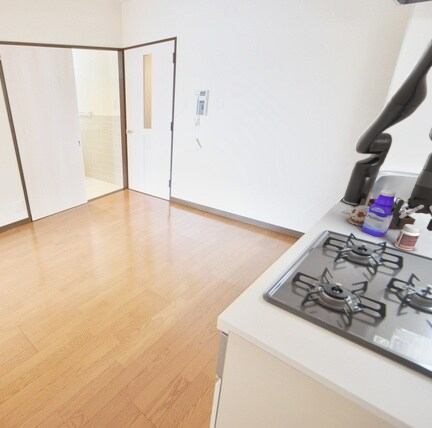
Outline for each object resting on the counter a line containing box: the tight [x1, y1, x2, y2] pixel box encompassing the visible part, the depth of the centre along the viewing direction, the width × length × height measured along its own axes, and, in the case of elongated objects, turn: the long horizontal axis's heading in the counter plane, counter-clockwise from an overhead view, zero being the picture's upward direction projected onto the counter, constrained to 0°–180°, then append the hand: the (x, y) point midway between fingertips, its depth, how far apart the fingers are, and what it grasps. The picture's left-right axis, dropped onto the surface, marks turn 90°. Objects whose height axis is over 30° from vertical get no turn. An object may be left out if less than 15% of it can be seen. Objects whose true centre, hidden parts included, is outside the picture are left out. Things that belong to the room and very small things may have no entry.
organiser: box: [359, 198, 416, 231], centre depth 120 cm, size 21×8×5 cm, turn 167°
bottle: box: [362, 189, 397, 237], centre depth 106 cm, size 7×6×17 cm
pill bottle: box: [394, 224, 422, 251], centre depth 98 cm, size 5×5×8 cm
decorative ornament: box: [347, 189, 374, 227], centre depth 114 cm, size 8×8×15 cm
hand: (412, 228), depth 97 cm, fingers open, 8 cm apart
